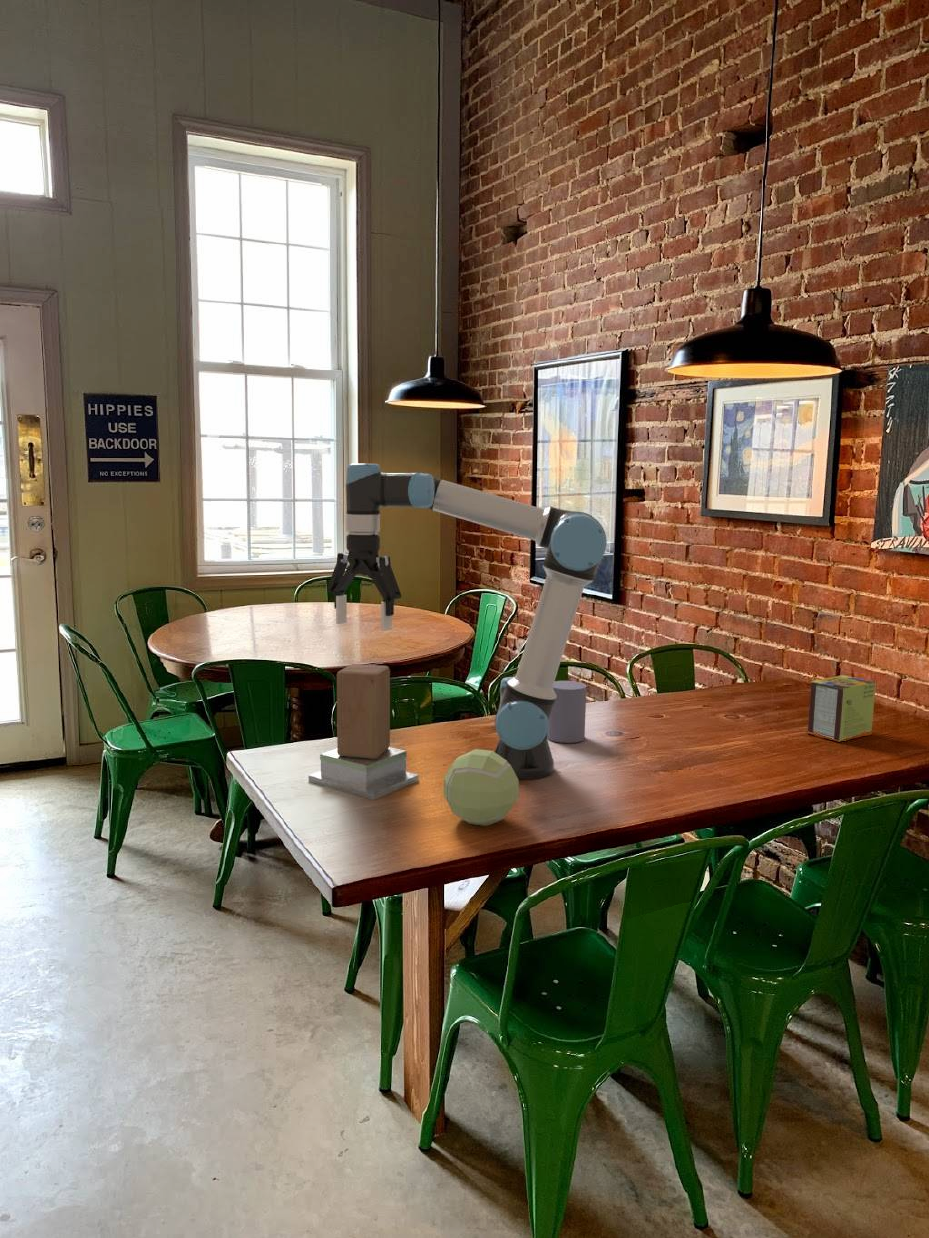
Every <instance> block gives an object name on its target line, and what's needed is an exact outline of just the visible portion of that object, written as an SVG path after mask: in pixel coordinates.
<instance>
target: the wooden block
mask: <svg viewBox="0 0 929 1238" xmlns="http://www.w3.org/2000/svg"><path fill="white" fill-rule="evenodd" d="M336 725H337V727H336V730H337V732H336V735H337V736H336V738H337V740H336V741H337V743H336V745H337V746H336V749H337V752H338V755H340V756H347V757H358V758H369V759H376V758H378V757H379V756H380V755H381V754H383V753H384V752H385V751H386V750H387V749H388V748H389V747H391V734H390V733H391V669H390V667H389V666H387V665H379V664H377V665H375V664H361V663H352V664H349V665H348V666H346V667H344V668H342V669H340V670H339V671H337V673H336Z"/></svg>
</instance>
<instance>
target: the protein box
mask: <svg viewBox="0 0 929 1238" xmlns="http://www.w3.org/2000/svg"><path fill="white" fill-rule="evenodd" d="M876 684H877V682H876V681H873V680H868V679H865V678H859V677H854V676H849V675H844V674H840V675H838V676H831V677H827V678H821V679H817V680H811V681H810V693H809V694H810V695H809V707H808V721H807V724H808V725H807V732H808V731H809V732H814V733H817V734H820V735H823V736H826V737H829V738H832V739H836V740H839V741H841V740H843V739H846V738H851V737H853V736H856V735H860V734H862V733H865V732H871V731H872V732H873V730H872V728H873V722H874V719H873V718H874V708H875V697H876V687H877V685H876ZM872 732H871V733H872Z"/></svg>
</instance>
